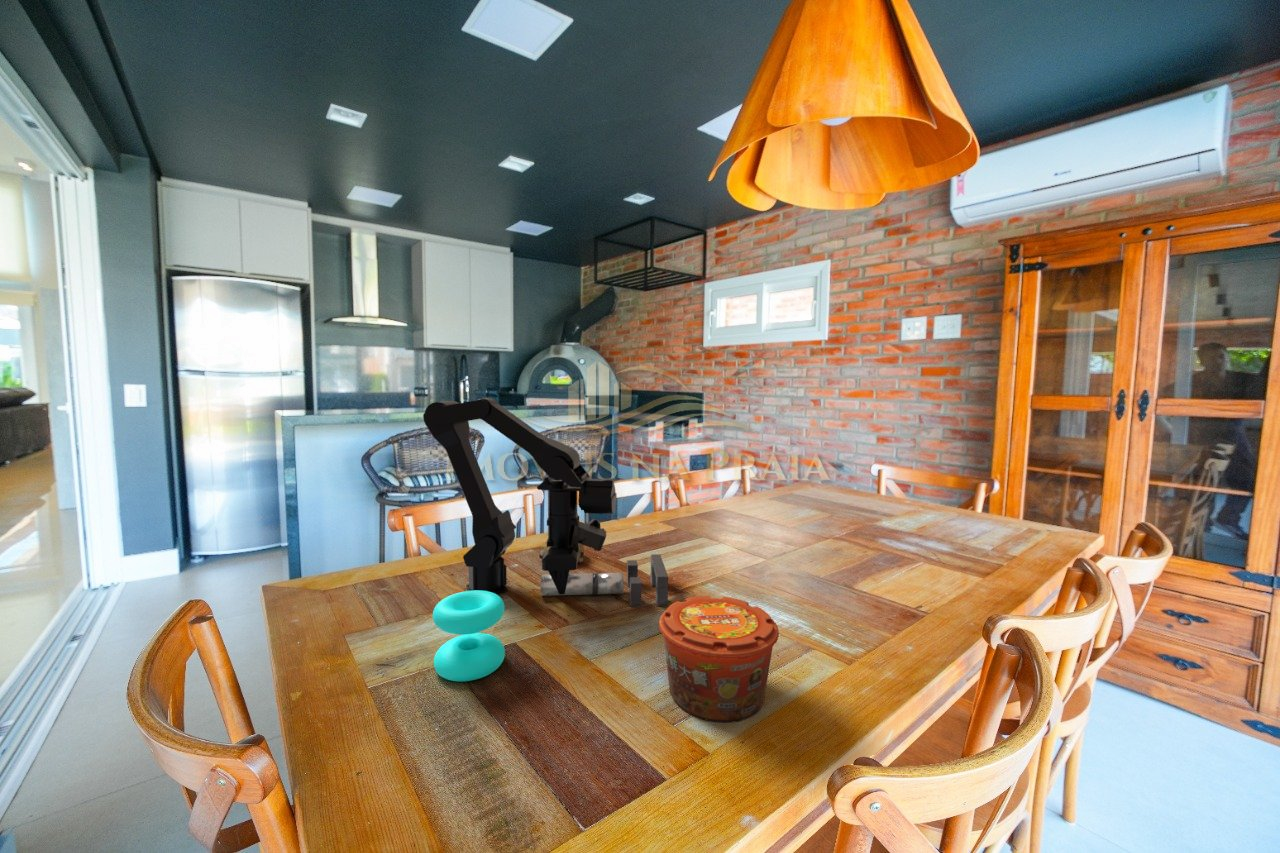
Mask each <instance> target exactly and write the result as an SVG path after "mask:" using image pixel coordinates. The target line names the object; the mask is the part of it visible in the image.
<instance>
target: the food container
mask: <svg viewBox="0 0 1280 853" xmlns="http://www.w3.org/2000/svg"><path fill="white" fill-rule="evenodd" d="M658 630H659V632H661V634H662V635H663V643H664V649H665V659H666V668H667V678H668V688H669V689H668V690H669V693H670V696H671V699H673V701H674V702H675V704H676V705H677V706H678V707H680V708H681V709H682V710H683V711H685V712H687V713H688V714H690V715H692V716H694V717H697V718H698V719H702V720H705V719H707V720H706V721H709V720H711V721H710V722H716V721H719V722H720V723H731V722H732V723H733V722H734V721H735V722H740V721H742V720H746V718H747V719H748V718H750V717H752V716H753V715H755V714H756V713H758V712H759V710H760V709H761V708H762V706H763V705H764V702H765V699H766V698H765V697H766V690H767V684H768V678H769V673H770V666H771V658H772V653H773V649H774V648H773V647H774V646H775V645H776V643H777V642H778V639H779V634H780V632H779V626H778V624H777V622H775V621H774V619H772V617H771V616H770V614H768V612H766V611H765V610H764V609H763V608H761V607H759V606H757V605H756V606H751V605H750V604H749V602H748V601H745V600H742V599H738V598H735V597H730V596H722V597H721V598H716V597H711V595H695V596H691V597H686V598H685V599H684V601H678V600H677V601H675V602H673V603H672V604H670V605H669V606H667V608H666V610H665V611H663V612H662V614H661V615H660V617H659V621H658ZM719 722H718V723H719Z"/></svg>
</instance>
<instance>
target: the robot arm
mask: <svg viewBox="0 0 1280 853" xmlns="http://www.w3.org/2000/svg"><path fill="white" fill-rule="evenodd" d="M422 420H423V423H424V424H425V427H426V428H427V429H428V431H429V433H430V434H431V436H432V437H433V439H435V440H436V442H438V443H439V445H440V446H442V448H444V450H445V452H446V454H447V456H448V459H449V461H450V465H451V466H452V468H453V471H454V474H455V476H456V479H457V481H458V484H459V486H460V488H461V491H462V494H463V496H464V498H465V501H466V503H467V506H468V508H469V511H470V513H471V516H472V525H471V527H472V529H471V532H472V538H473V542H474V545H473V546H472V547H471V548H470V549H469V550H468V551H467V552H466V553H465V554H464V555H463V556H462V557H463V558H462V559H463V561H464V564H465V566H466V567H468V584H466V586H465V587H466V588H465V589H467V591H473V590H481V591H488V592H492V593H495V594H500V593H504V592H508V587H507V584H508V583H507V582H508V581H507V580H508V578H507V577H508V576H507V575H508V574H507V573H508V571H507V569H508V568H507V564H505V559H504V557H502V556H503V555H504V554H506V551H507V549H508V548H509V547H510V546H512V544H513V543H514V540H515V538H516V532H515V530H516V529H517V526H516V525H515V524H514V521H513V520H512V516H511V513H510V510H509V509H506V510H505V511H502V510H500V509H499V508H498V507H497V506H496V504H495V502H494V499H493V497H492V494H491V492H490V489H489V487H488V484H487V482H486V479H485V477H484V474H483V473H482V469H481V467H480V465H479V464H480V463H479V462H478V460H477V457H476V455H475V453H474V450H473V447H472V445H471V442H470V424H469V422H470V421H475V420H482V421H483V422H484V423H486V424H488V425H489V426H490V427H492V428H493V429H494V430H496V431H497V432H499V433H500V434H502V436H505V437H506V438H507V439H508V440H511V441H512V442H513V443H514V444H516V445H517V446H519V447H520V448H521V449H522V450H524V451H526V453H527V454H529V455H530V456H531V457H532V458H533V460H534V461H535V463H536V464H537V466H538V467H539V468H540V469H541V470H542V471H543V472H544V473H545V474H546V475H547V476H545V477H544V479H543V480H542V482H540V484H539V485H537V486H536V489H537V490H540V491H547V520H546V526H547V540H546V541H547V547H550V548H549V549H548V550H547V551H546V552H545V553H544V555H543V558H542V559H541V570H542V571H545V572H546V571H547V572H548V573H549V574H550V576H551V578H552V580H553V582H554V584H555V586H556V588H557V590H558V593H559V594H565V590H566V585H567V580H568V575H569V574H570V571H576V570H577V569H578V563H577V552H578V551H579V543H580V544H582V545H583V546H585V547H588V548H591V549H593V550H594V551H597V552H601V551H602V548H603V546H604V543H605V542H606V541H605V540H606V538H607V531H606V530H605V528H602V527H601V521H600V520H599V519H597V518H596V519H595V518H592V520H590V521H589V522H582V521H580V515H579V514H578V508H580V510H581V511H583V512H584V514H596V515H597V514H598V515H599V514H600V515H615V512H616V509H617V493H616V486H615V479H614V478H609V477H606V478H591V476H590V474H589V473H588V472H587V470H586V469H585V468H584V466H583V465H582V463H581V460H580V454H579V452H578V451H577V450H576V449H575V448H572V447H571V446H569V445H567V444H565V443H562V442H561V441H557V440H555V439H552V438H549V437H547V436H545V435H544V434H542V433H540V432H539V431H538V430H536V429H535V428H534V427H532V426H531V425H529V424H528V423H526V422H525V421H523V420H522V419H520V418H519V417H517V416H516V415H515V414H513V413H512V412H511V411H509V410H508V409H507V408H505V407H504V406H503V405H501V404H499V402H498V401H497V400H496V399H494V398H492V397H483V398H478V399H476V400H471V401H466V402H465V401H464V402H460V403H459V402H457V401H456V400H455V401H454V400H444V401H435V402H432V403H430V404H429V405H427V407H426V408H425V410H424V413H423V414H422ZM578 506H579V507H578Z"/></svg>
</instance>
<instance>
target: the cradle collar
mask: <svg viewBox="0 0 1280 853" xmlns="http://www.w3.org/2000/svg"><path fill="white" fill-rule="evenodd" d="M637 561H638V560H637V559H635V560H634V559H633V560H632V559H631V560H628V559H627V560H626V570H627V571H626V584H627V587H628V588H629V603H630V607H631V608H632V607H634V608H635V607H642V585H643V584H642V579H641V577H640V576H639V577H638V575H639V574H638V573H639V572H638V568H639V567H638V566H639V565H638V562H637Z"/></svg>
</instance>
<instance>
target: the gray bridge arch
mask: <svg viewBox="0 0 1280 853" xmlns="http://www.w3.org/2000/svg"><path fill="white" fill-rule="evenodd" d="M649 580H650V583H651V584H650V585H651V587H655V598H654V600H655V603H656V606H657V607H669V606H668V605H669V604H668V603H669V602H668V601H669V575H668V572H667V569H666V567H665V563H664V560H663V558H662V555H661V554H659V553H658V554H657V553H656V554H650V579H649Z"/></svg>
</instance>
